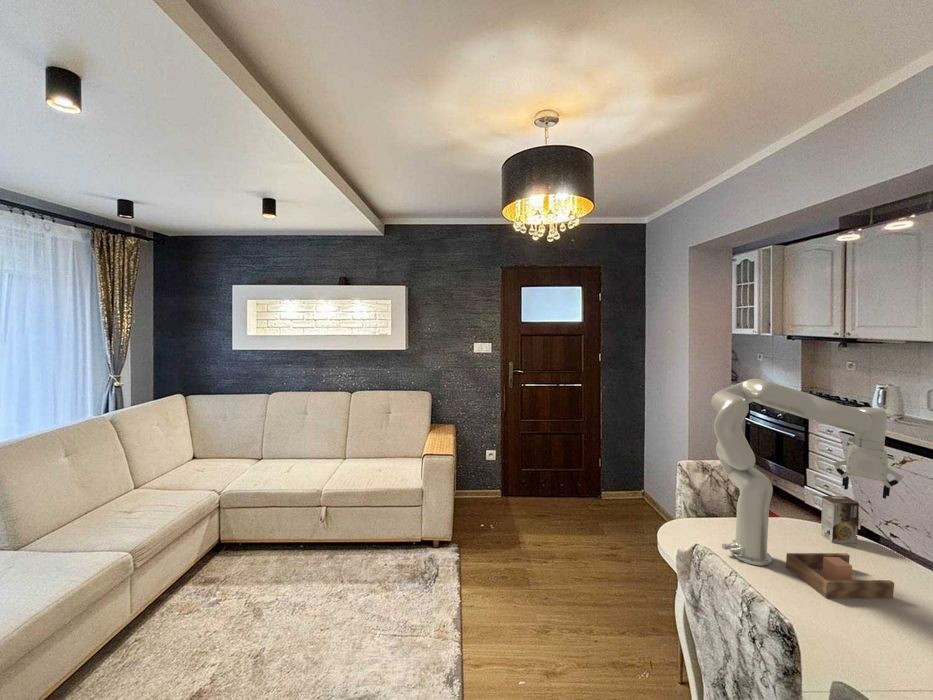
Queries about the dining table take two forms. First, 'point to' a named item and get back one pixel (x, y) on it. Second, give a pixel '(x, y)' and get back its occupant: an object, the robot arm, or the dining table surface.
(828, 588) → the brown wooden u-shaped block
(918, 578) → the dining table surface
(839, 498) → the coffee box
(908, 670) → the dining table surface
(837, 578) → the terracotta block
